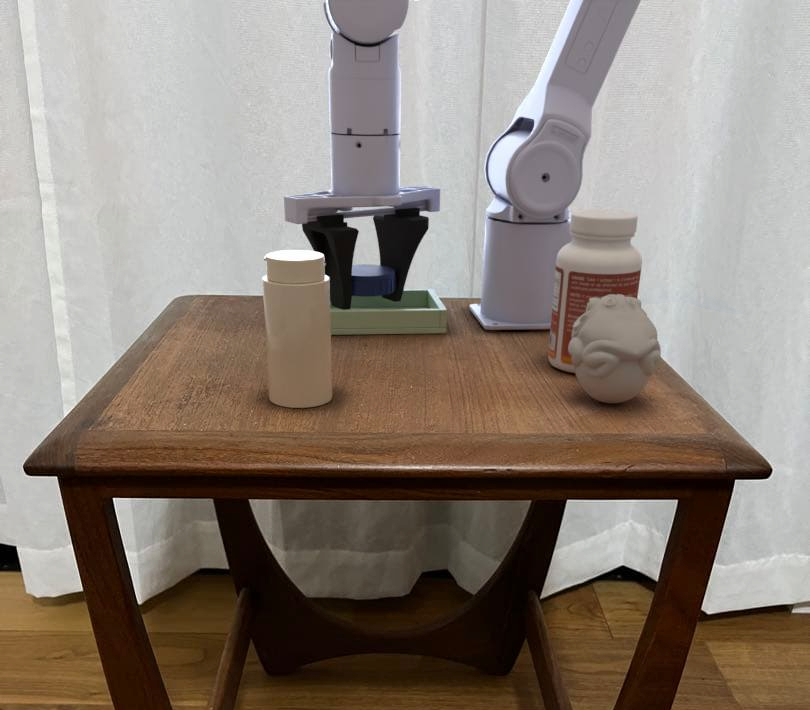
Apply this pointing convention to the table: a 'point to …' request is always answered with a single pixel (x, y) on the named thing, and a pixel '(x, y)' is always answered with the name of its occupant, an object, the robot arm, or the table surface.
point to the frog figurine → (614, 348)
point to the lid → (372, 280)
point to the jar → (297, 328)
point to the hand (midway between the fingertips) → (366, 303)
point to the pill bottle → (591, 272)
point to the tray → (391, 315)
